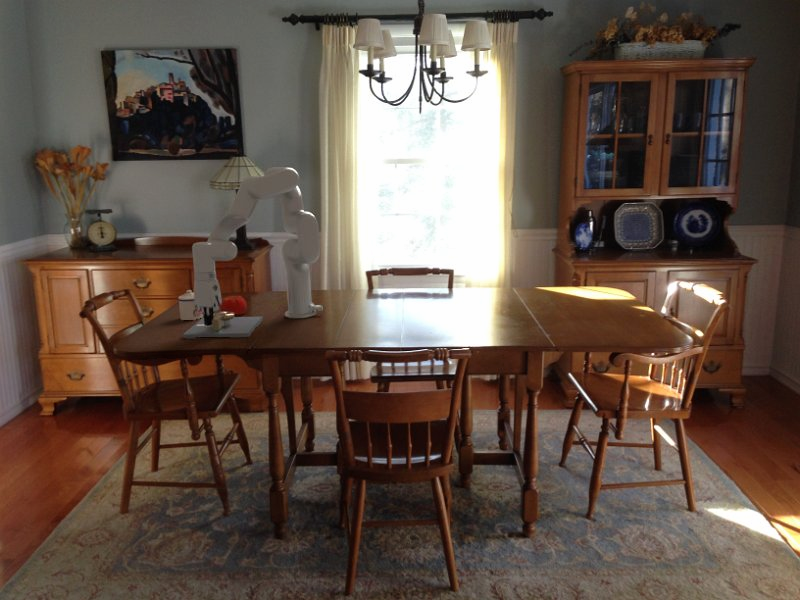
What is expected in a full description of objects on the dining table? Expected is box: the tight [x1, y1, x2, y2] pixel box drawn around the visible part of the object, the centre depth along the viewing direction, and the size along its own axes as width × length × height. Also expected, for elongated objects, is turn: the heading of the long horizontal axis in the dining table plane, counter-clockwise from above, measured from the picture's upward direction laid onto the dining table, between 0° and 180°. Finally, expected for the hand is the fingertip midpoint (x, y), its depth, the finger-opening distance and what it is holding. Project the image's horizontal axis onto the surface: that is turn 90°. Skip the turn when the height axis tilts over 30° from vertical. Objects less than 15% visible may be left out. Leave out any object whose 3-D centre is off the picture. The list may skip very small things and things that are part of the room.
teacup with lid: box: [177, 289, 204, 321], centre depth 275 cm, size 12×9×12 cm
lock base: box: [182, 316, 264, 339], centre depth 257 cm, size 24×24×4 cm
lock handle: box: [212, 311, 235, 330], centre depth 253 cm, size 14×8×4 cm, turn 178°
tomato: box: [219, 295, 248, 317], centre depth 278 cm, size 11×11×8 cm
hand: (209, 324), depth 250 cm, fingers closed
